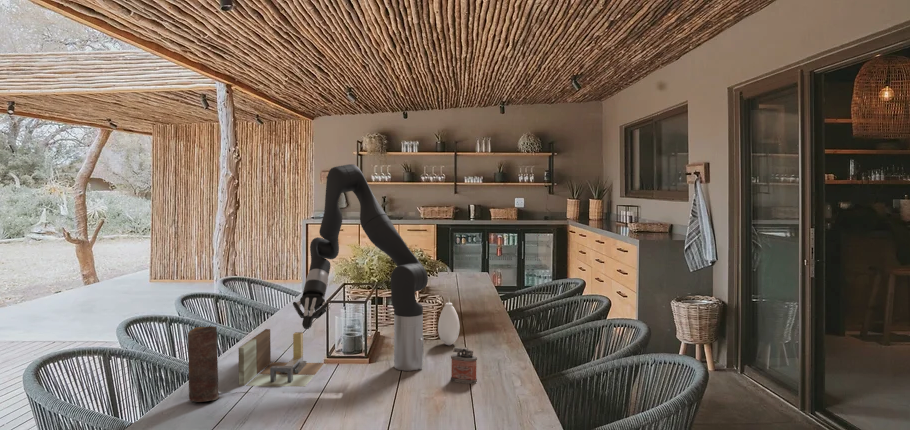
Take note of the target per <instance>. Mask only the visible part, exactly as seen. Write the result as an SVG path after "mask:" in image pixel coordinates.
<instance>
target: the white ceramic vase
mask: <svg viewBox="0 0 910 430" xmlns="http://www.w3.org/2000/svg"><path fill="white" fill-rule="evenodd" d="M438 318H439V319H438V324H437V331H438V337H439V339H440V341H441V342H442V343H443V344H444V345H446V346H451V345H453V344H454V343H455V342H457V340H458V338H459V334H460V330H461V329H460V319H459V315H458V313H457V311H456V308H455V307H454V306H453V303H452V302H451V300H450V297H448V301H447V302H446V303H445V305H444V306H443V308H442V310H441V313H440V316H439V317H438Z"/></svg>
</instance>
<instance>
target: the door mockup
mask: <svg viewBox="0 0 910 430" xmlns="http://www.w3.org/2000/svg"><path fill="white" fill-rule="evenodd" d="M271 345H272V344H271V328H265V329H263V330H262V331H261V332H260V333H258V334H257V335H255V336H253V337H252V338H251V339H249V340H248V341H246V342H245V343H244V344H242V345H241V346H239V347H238V385H239V387H240V386H242V387H243V386H249V387H307V385H308V383H310V381H311V380H312V379H313V378H314V376H315V375H316V374H317V373H318V372H319V370H320V369H321V368H322V367H323V366H324V364H325V362H306V366H305V367H304V368H303V369H302V370H301V371H300V372H299V373H298V374H295V371H294V372H293V381H292V382H291V383H288V378H287V373H284V374H283V373H280V372H277V371H276V381H275V382H270V368H271V367H272V366H285V365H286V364H287V363H288V362H289V361H287V362H282V361H281V362H278V361H277V362H274V361H273V362H271V360H272V359H271V357H272V356H271V352H272V351H271V347H272V346H271Z"/></svg>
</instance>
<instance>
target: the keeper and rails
mask: <svg viewBox="0 0 910 430" xmlns="http://www.w3.org/2000/svg"><path fill="white" fill-rule="evenodd" d="M306 363H307V361H306V360H303V362H302V363H301V364H300V365H299V366H298V367H297V368H296V369H295V374H298V373H299V372H300V371H301V370H302V369H303V368H304V367H305V366H306ZM276 371H277V372H280V373H283V374H284V373H285V372H287V378H288V383H291V382H292V381H293V366H272V367H271V368H270V374H269V375H270V382H275V381H276V375H277V374H276Z"/></svg>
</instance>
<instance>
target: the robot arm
mask: <svg viewBox="0 0 910 430" xmlns="http://www.w3.org/2000/svg"><path fill="white" fill-rule="evenodd" d="M325 186H326V187H325V198H324V210H323V211H324V212H323V216H322V219H321V223H320V226H319V233H318V234H319V235H320V236H321V237H318V236H317V237H315V238H313V239H312V240H311V242H310V243H309V244H310V246H309V252H310V266H309V270H308V273H307V276H306V279H305V283H304V287H303V291H302V294H301V297H300V299H299V300H298V301H293V302H292V306H293V308H294V310H295V312H296V313H297V314H298V317H299V318H300V319H302V323H301V325H302V328H303V329H304V330H310V328H312V325H313V321H314V319H317V320H318V319H319V318H321V316H323V315H324V314H325V313H326V312H327V311H326V307H327V303H328V302H327V301H325V298H326V292H327V287H328V283H329V275H330V270H331V262H330V261H329V260H334V259H336V258H338V257H337V256H338V255H339V251H340V242H339V235H340V233H341V232H340V231H341V228H342V224H343V213H342V211H341V208H340V205H339V199H340V197H341V195H342V194H343V193H349V192H352V193H353V194H354V195H355V196H356V198H357V200H358V202H359V206H360V211H359V213H360V214H359V222H360V226H361V228H362V230H363V231H364V233H365V235H366V236H367V239H369V241H370V242H371V243H372V244H373V245H374V246H375V247H376V248H377V249H379V250H380V251H381V252H383V254H386V255H387V256H388V257H389V258H390V259H391V260H392V261H393V262H394V264H395V265H396V267H395V268H393V270H392V272H391V274H390V275H391V276H390V296H391V299H390V300H391V304H392V307H393V317H394V318H393V344H394V345H393V358H394V359H393V366H394V367H393V368H395V369H396V370H399V371H405V372H407V371H408V372H409V371H417V370H422V369H423V367H424V308H423V307H424V306H423V304H422V303H419V302H417V301H416V300H417V299H416V292H419V291H421V290H424V289H425V288H426V286H427V285H428V282H429V281H428V280H429V277H428V273H427V270H426V268H425V266H423V264H422V263H421V261H420V260H419V259H418V258H417V256H415V254H414V253H413V252H412V251H411V249H410V248H409V246H408V245H407V243H406V242H405V240H403V238H402V236H401V234H400V233H399V232H398V230H397V228H396V227H395V225H394V224H393V222H392V221H391V219H390V217H389V216H388V215H387V213H386V212H385V210H384V209H383V207H382V206H381V204H380V203H379V200H378V199H377V198H376V196H375V195H374V193H373V190H372V189H371V186H370V185H369V183H368V181H367V179H366V177H365V175H364V173H363V172H362V170H361V168H359V166H358V165H355V164H354V163H351V164H344V165H338V166H337V165H336V166H334V167H331V168H330V169H329V171H328V173H327V177H326V185H325ZM301 308H303V310H304V311H302V309H301ZM330 308H331V307H330V306H329V309H328V310H330Z"/></svg>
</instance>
